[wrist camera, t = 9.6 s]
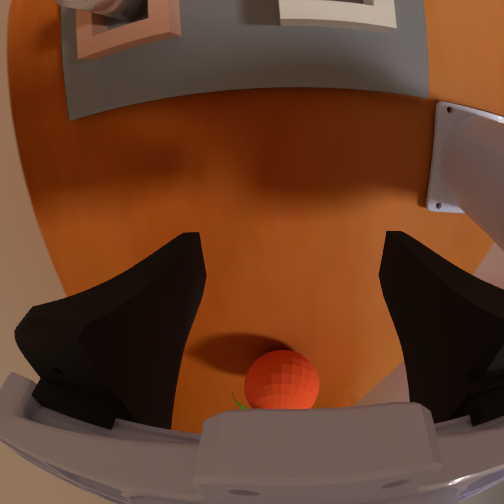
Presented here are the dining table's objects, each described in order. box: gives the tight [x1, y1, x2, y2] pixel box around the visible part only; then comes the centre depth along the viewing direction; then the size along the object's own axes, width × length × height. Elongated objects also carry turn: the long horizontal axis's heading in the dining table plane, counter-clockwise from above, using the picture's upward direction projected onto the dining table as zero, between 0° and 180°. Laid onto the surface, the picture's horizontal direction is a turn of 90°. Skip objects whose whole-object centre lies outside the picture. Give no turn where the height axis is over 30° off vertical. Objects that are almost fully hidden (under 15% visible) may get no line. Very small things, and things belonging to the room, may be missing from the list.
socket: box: [76, 0, 181, 59], centre depth 12 cm, size 6×6×2 cm
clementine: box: [232, 350, 319, 409], centre depth 26 cm, size 8×7×7 cm
